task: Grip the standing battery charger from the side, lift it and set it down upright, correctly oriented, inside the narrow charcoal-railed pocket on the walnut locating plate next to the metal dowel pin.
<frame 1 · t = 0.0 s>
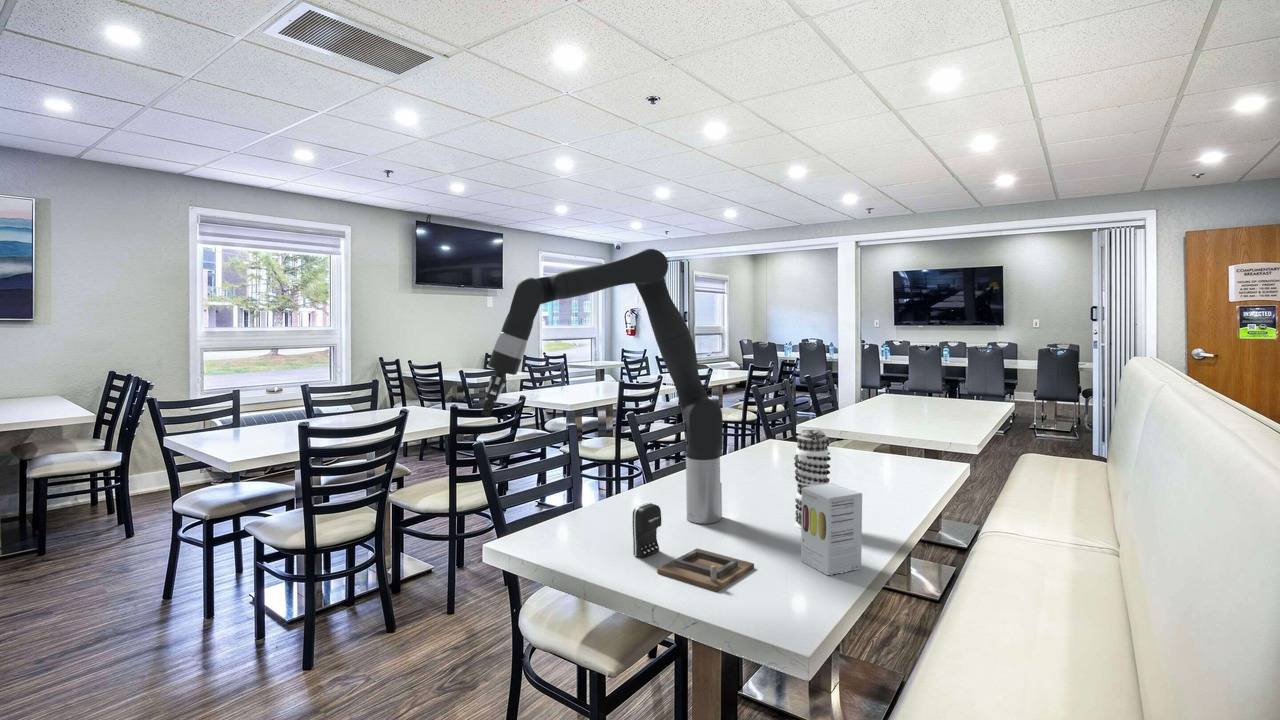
hand: (486, 413, 155), 31 cm above the table, tool tilted 20°, fingers open, 8 cm apart
supplement box: (830, 566, 134), on the table
decorative candle: (812, 526, 160), on the table
locating plate: (706, 570, 132), on the table
battery charger: (648, 554, 142), on the table
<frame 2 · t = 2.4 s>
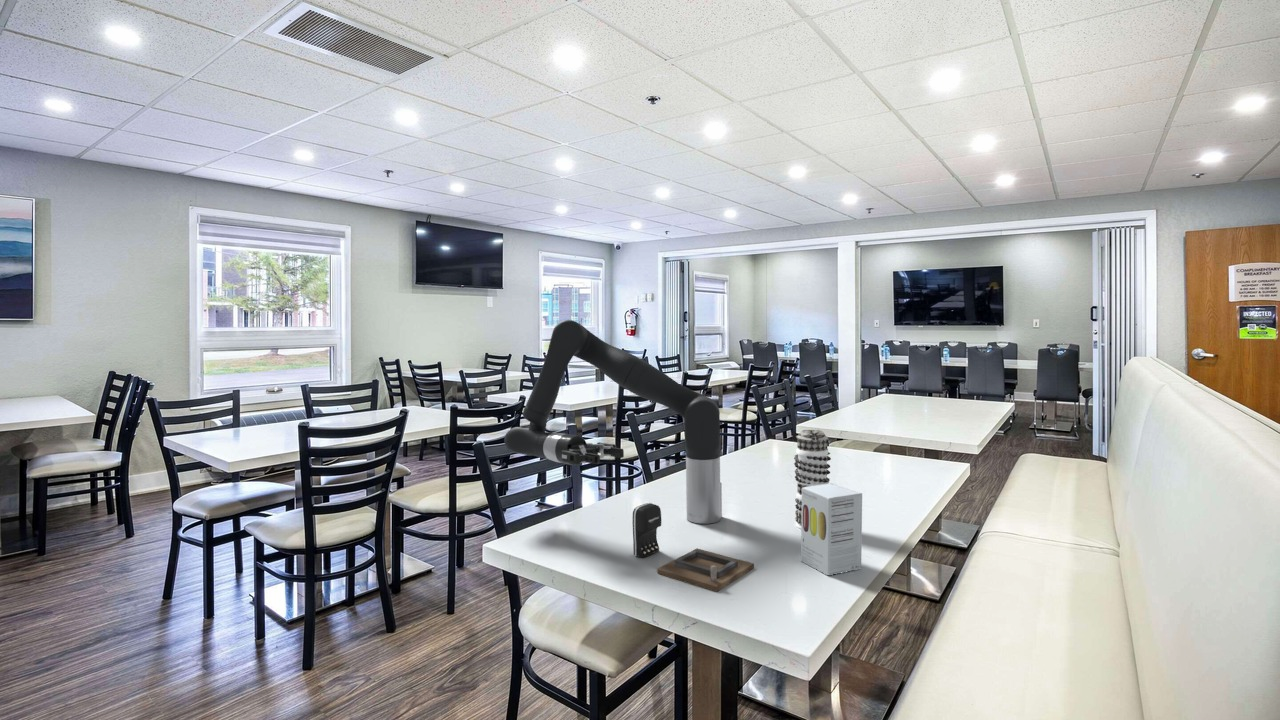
hand: (611, 456, 148), 21 cm above the table, tool horizontal, fingers open, 8 cm apart
nothing on the table moved.
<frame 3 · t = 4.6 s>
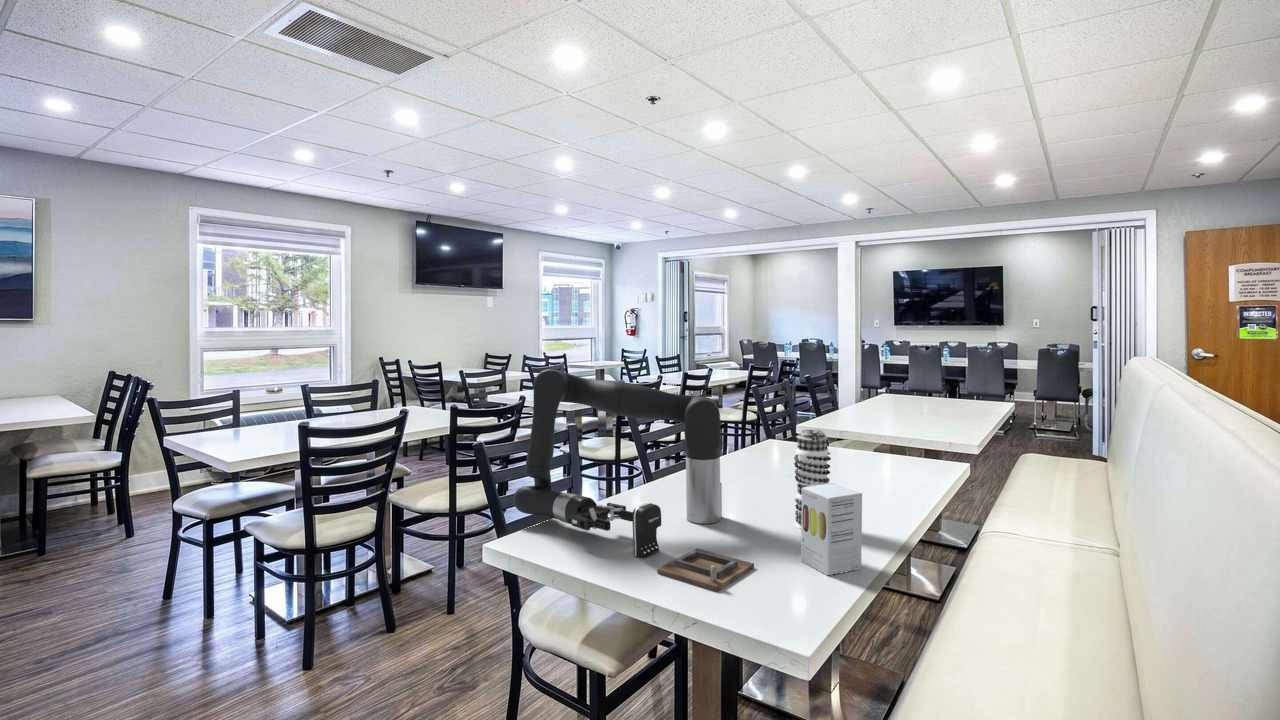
hand: (621, 521, 147), 6 cm above the table, tool horizontal, fingers open, 8 cm apart
nothing on the table moved.
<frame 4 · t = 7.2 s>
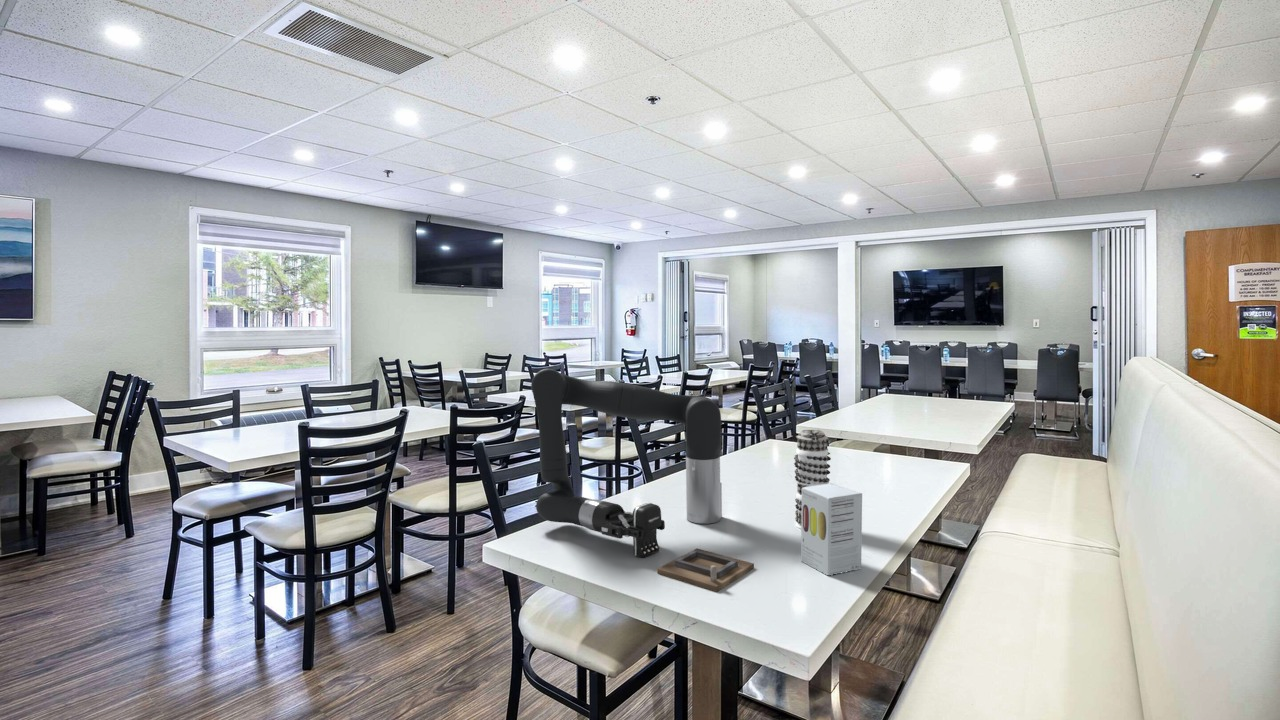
hand: (653, 529, 141), 6 cm above the table, tool horizontal, fingers closed on battery charger, 7 cm apart
battery charger: (648, 554, 142), on the table, touching gripper
everything else where it was.
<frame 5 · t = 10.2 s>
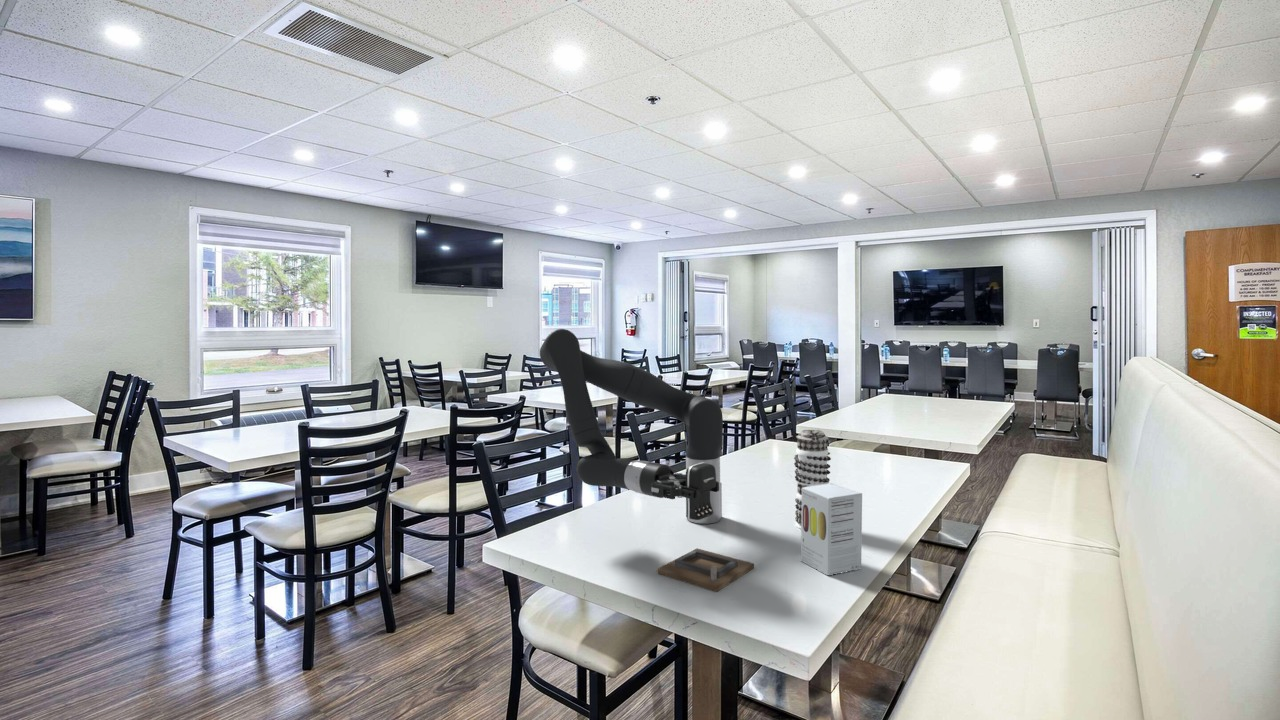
hand: (708, 490, 130), 18 cm above the table, tool horizontal, fingers closed on battery charger, 7 cm apart
battery charger: (701, 517, 132), point 12 cm above the table, touching gripper
everything else where it was.
when the fingers open (8 cm above the table, at t = 13.6 s): battery charger stays where it is, resting on locating plate.
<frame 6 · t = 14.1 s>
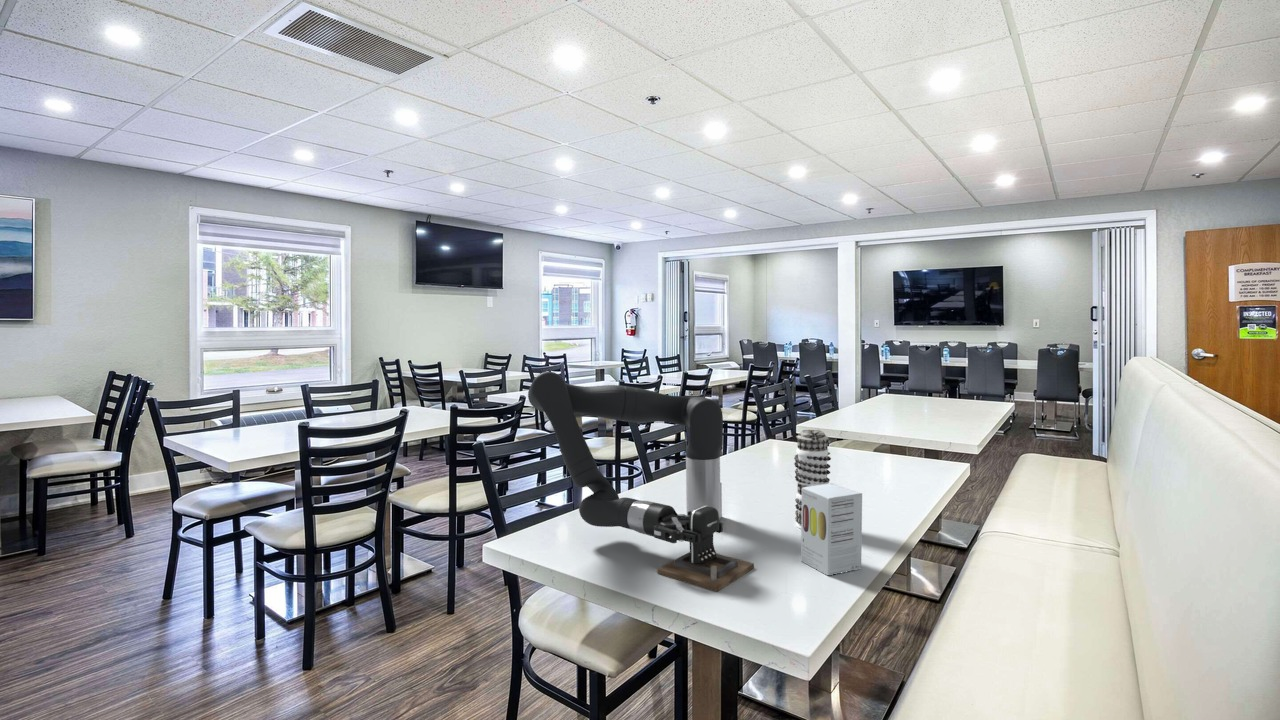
hand: (711, 533, 131), 9 cm above the table, tool horizontal, fingers open, 8 cm apart
battery charger: (705, 561, 132), point 2 cm above the table, touching locating plate
everything else where it was.
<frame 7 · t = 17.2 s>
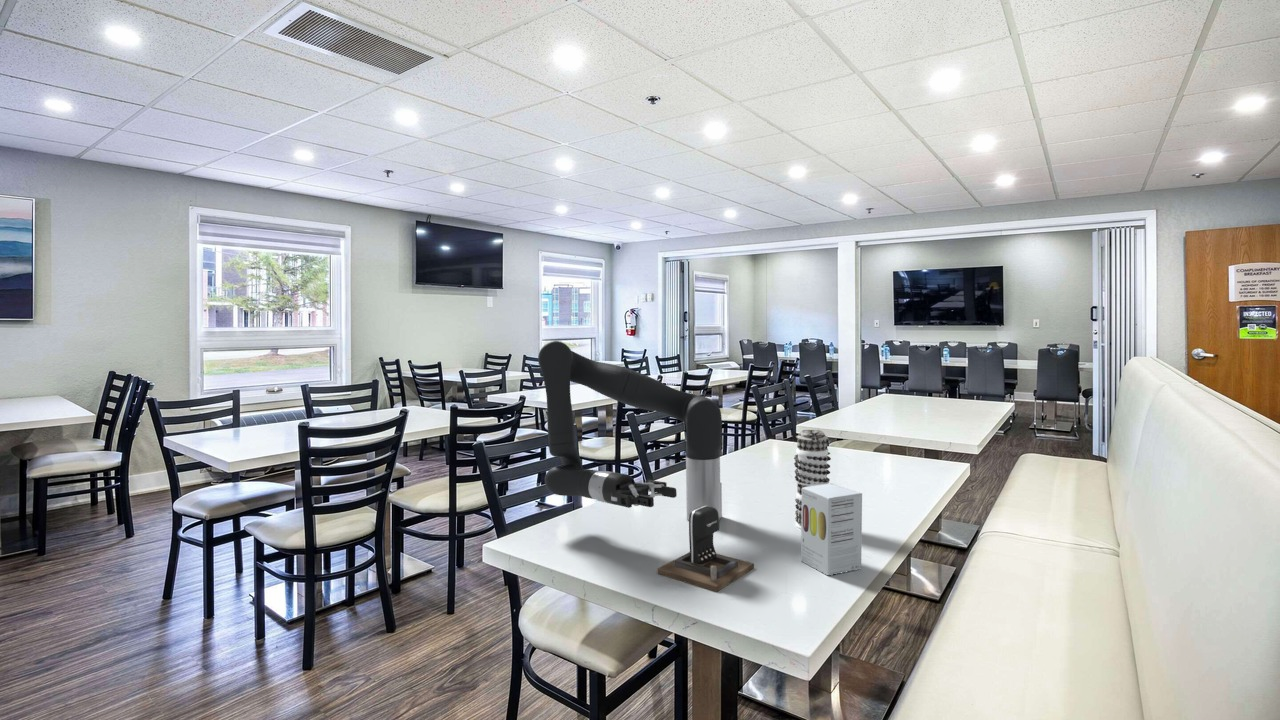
hand: (664, 497, 139), 14 cm above the table, tool horizontal, fingers open, 8 cm apart
nothing on the table moved.
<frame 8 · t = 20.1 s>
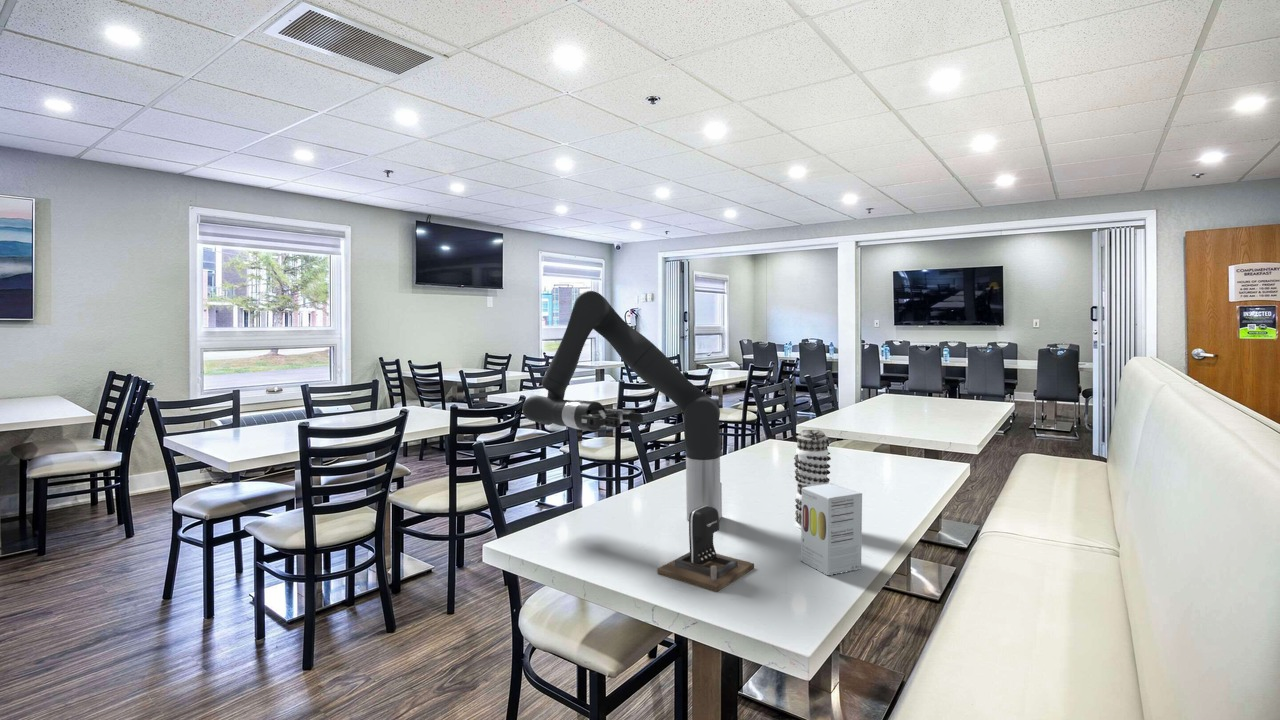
hand: (630, 420, 149), 30 cm above the table, tool horizontal, fingers open, 8 cm apart
nothing on the table moved.
at the end: battery charger 0.1 cm off-centre on the locating plate, point 2.0 cm above the locating plate's base; battery charger tilted 0°; the gripper is holding nothing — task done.
